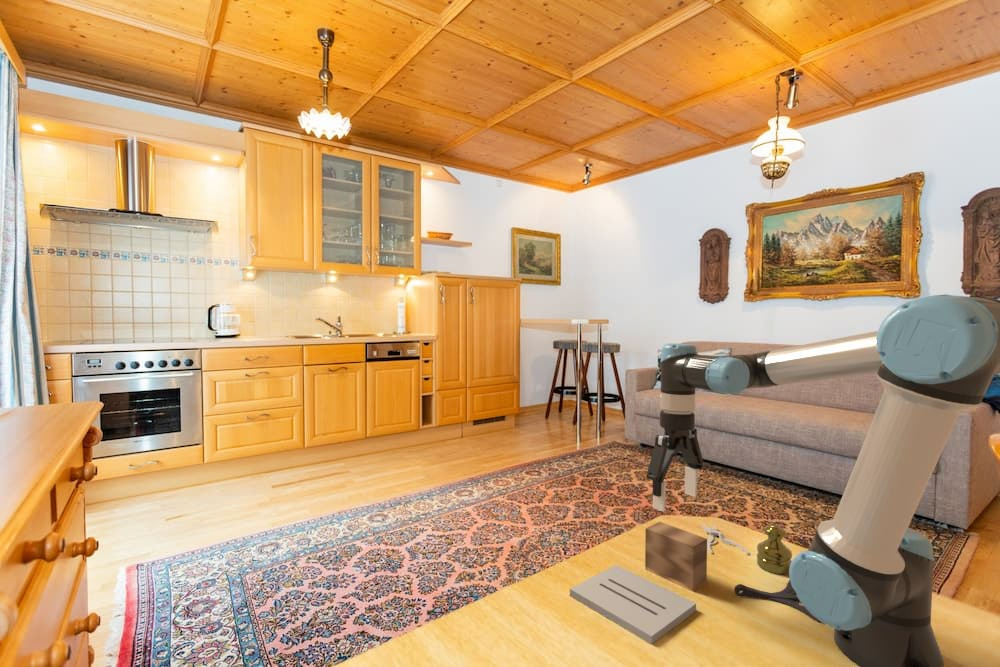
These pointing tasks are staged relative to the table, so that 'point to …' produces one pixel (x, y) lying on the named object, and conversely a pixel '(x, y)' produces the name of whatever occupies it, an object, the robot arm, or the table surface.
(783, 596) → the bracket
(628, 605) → the board
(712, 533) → the pliers
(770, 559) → the brass door knob
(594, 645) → the table surface
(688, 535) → the block
